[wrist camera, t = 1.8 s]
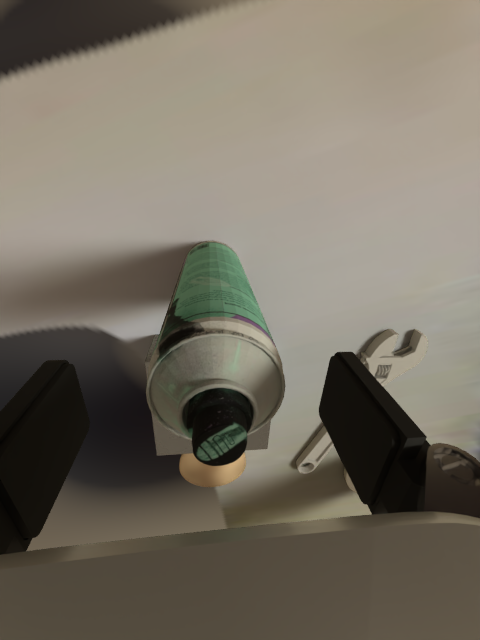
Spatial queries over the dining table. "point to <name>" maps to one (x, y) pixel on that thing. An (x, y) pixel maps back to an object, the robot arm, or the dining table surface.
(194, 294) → the spray can
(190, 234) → the dining table surface
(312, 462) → the adjustable wrench
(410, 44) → the dining table surface
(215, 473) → the coaster
